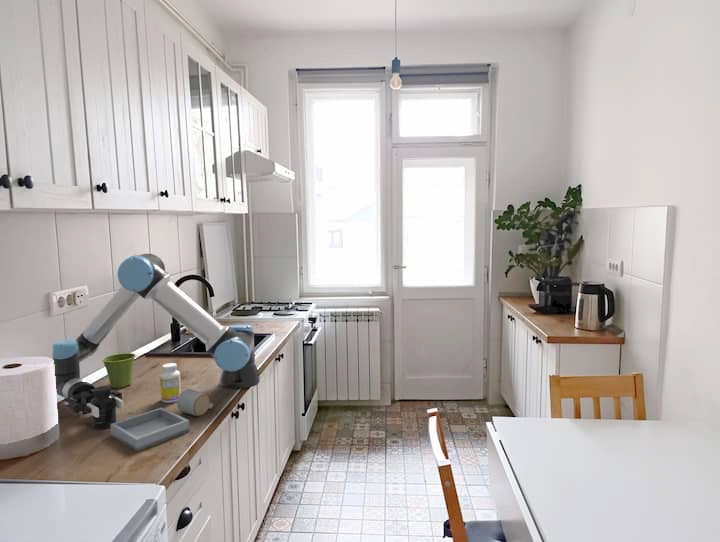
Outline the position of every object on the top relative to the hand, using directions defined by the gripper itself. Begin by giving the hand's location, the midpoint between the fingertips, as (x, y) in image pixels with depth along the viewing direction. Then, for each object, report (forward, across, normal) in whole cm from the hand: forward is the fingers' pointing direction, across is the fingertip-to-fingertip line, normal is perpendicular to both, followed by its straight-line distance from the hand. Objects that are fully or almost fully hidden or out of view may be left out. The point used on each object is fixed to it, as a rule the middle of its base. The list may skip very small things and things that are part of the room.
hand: (110, 409), depth 143 cm
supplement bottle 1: (-5, 0, -7) cm, 8 cm away
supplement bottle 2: (-8, -24, -7) cm, 26 cm away
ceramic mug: (+9, -24, -7) cm, 26 cm away
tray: (+12, -6, -7) cm, 15 cm away
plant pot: (-38, -20, -7) cm, 43 cm away
